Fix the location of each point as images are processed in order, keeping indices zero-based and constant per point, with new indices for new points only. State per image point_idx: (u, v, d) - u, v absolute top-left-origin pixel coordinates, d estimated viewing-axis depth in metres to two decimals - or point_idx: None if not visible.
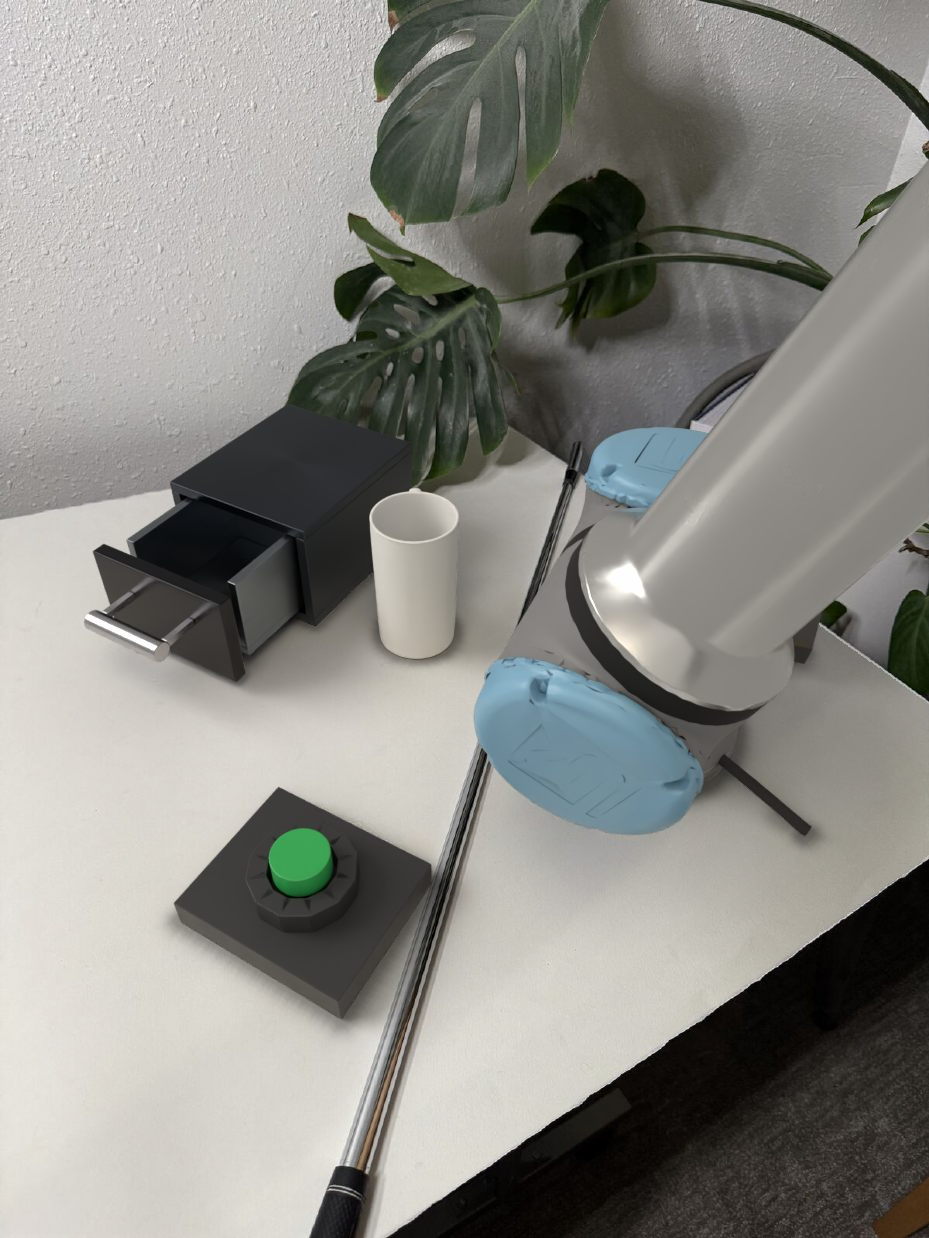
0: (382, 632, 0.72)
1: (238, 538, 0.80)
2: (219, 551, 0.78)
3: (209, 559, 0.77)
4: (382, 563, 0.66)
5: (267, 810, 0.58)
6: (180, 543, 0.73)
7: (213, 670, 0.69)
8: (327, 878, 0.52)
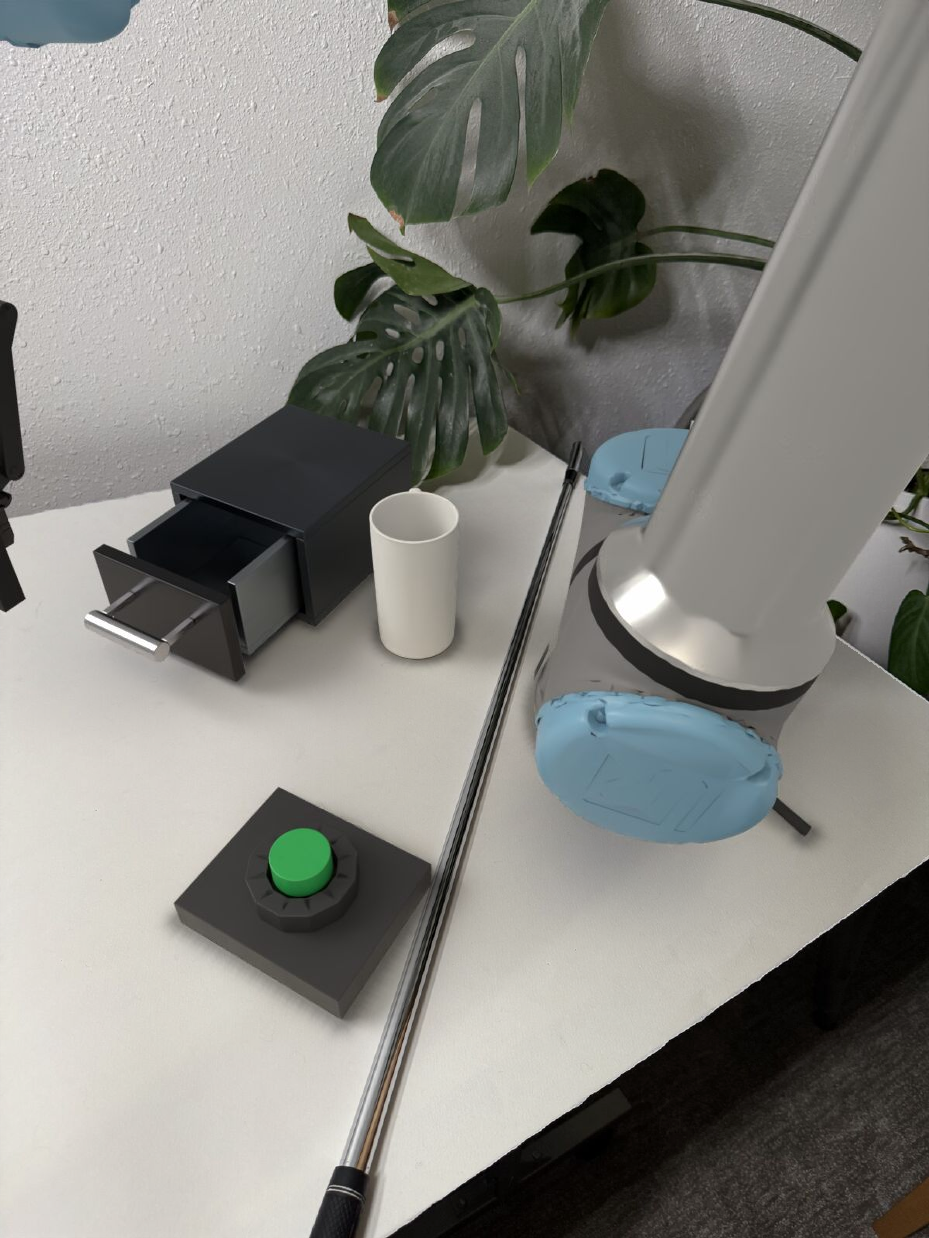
0: (382, 632, 0.72)
1: (238, 538, 0.80)
2: (219, 551, 0.78)
3: (209, 559, 0.77)
4: (382, 563, 0.66)
5: (267, 810, 0.58)
6: (180, 543, 0.73)
7: (213, 670, 0.69)
8: (327, 878, 0.52)
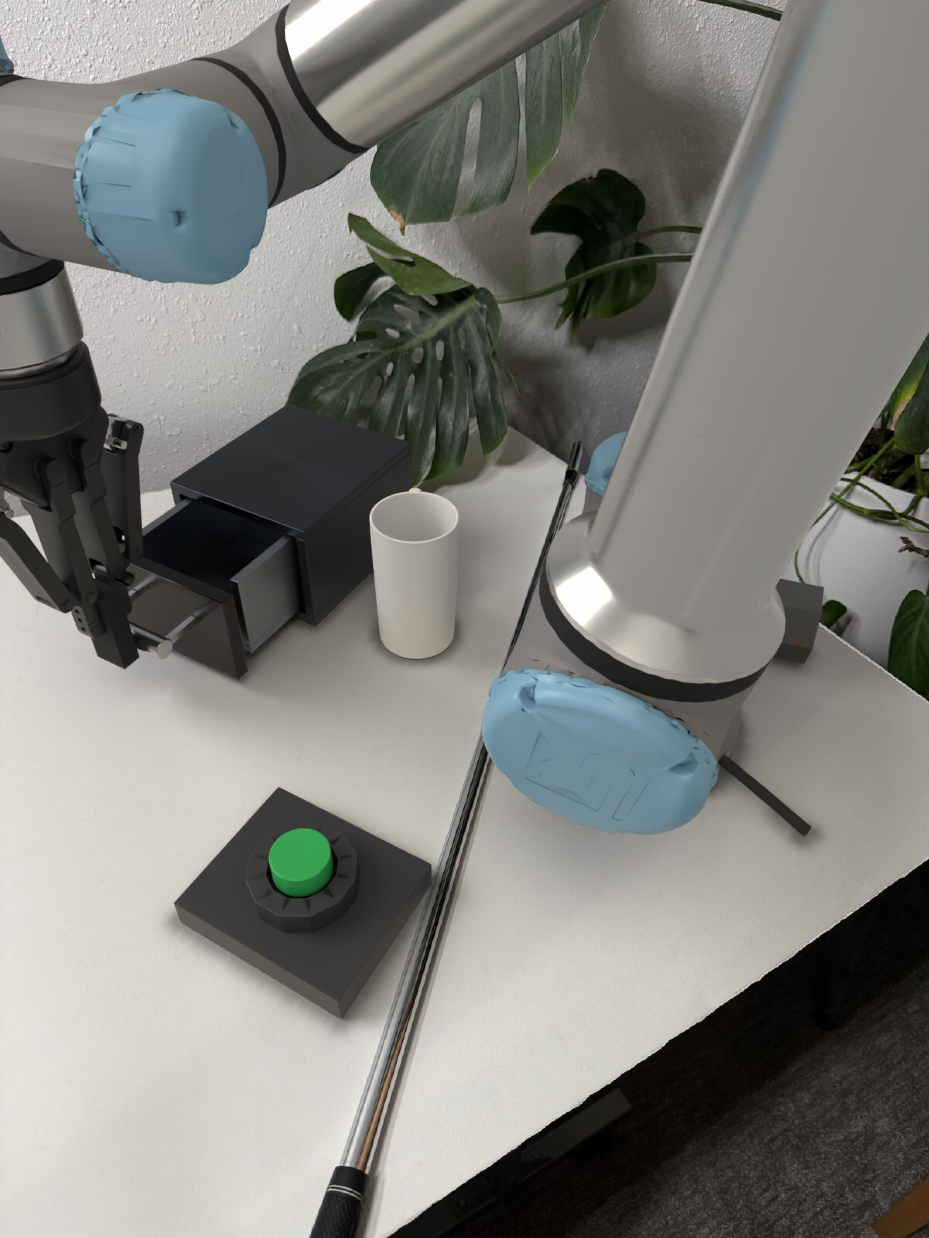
0: (382, 632, 0.72)
1: (240, 536, 0.80)
2: (221, 549, 0.78)
3: (211, 557, 0.78)
4: (382, 563, 0.66)
5: (267, 810, 0.58)
6: (182, 541, 0.73)
7: (216, 668, 0.69)
8: (327, 878, 0.52)
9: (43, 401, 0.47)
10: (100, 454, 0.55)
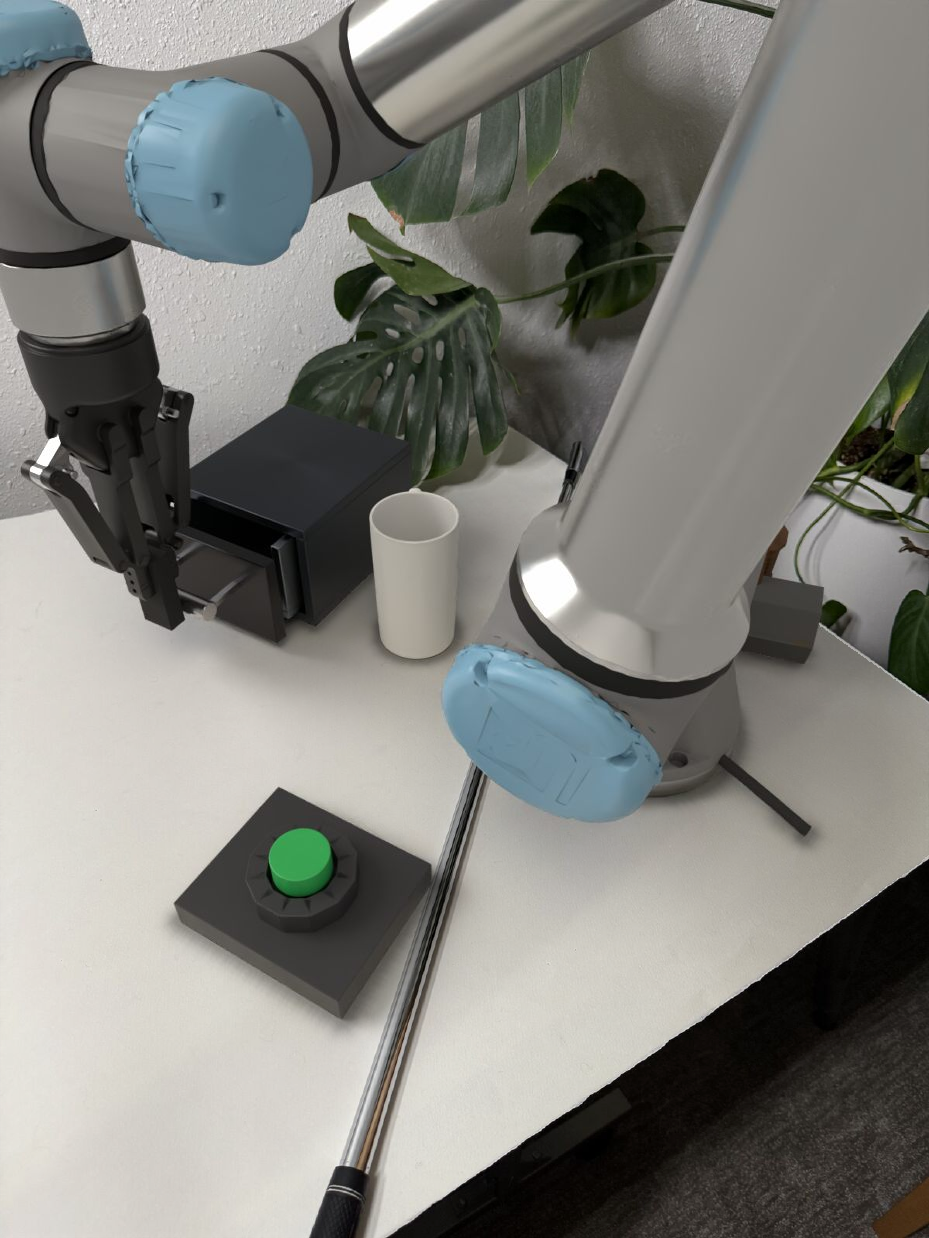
0: (382, 632, 0.72)
1: None
2: (256, 523, 0.82)
3: (247, 530, 0.81)
4: (382, 563, 0.66)
5: (267, 810, 0.58)
6: (221, 513, 0.77)
7: (255, 632, 0.72)
8: (327, 878, 0.52)
9: (110, 367, 0.51)
10: (155, 422, 0.58)
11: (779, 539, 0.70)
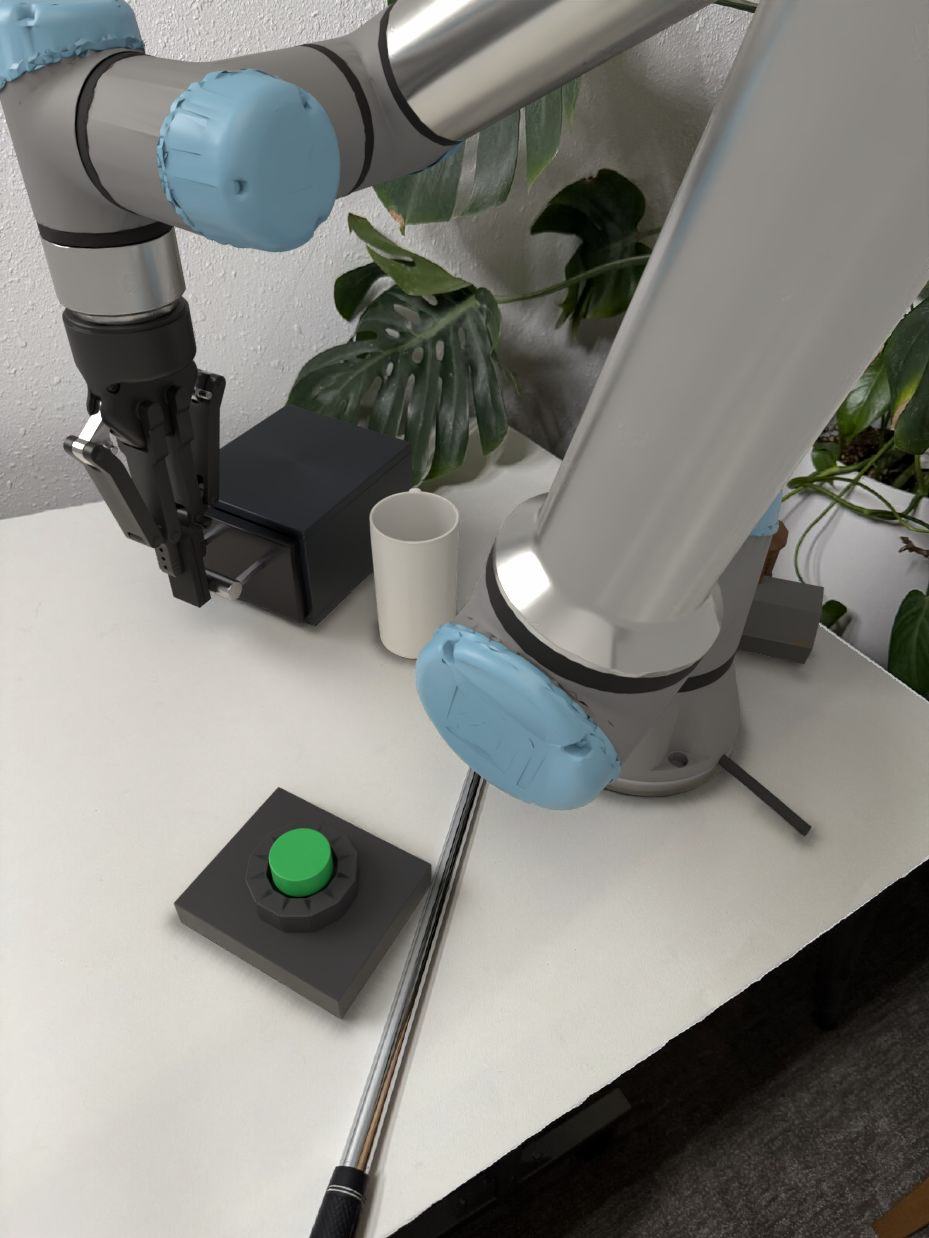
0: (382, 632, 0.72)
1: None
2: None
3: None
4: (382, 563, 0.66)
5: (267, 810, 0.58)
6: None
7: (278, 612, 0.74)
8: (327, 878, 0.52)
9: (152, 346, 0.53)
10: None
11: (779, 539, 0.70)
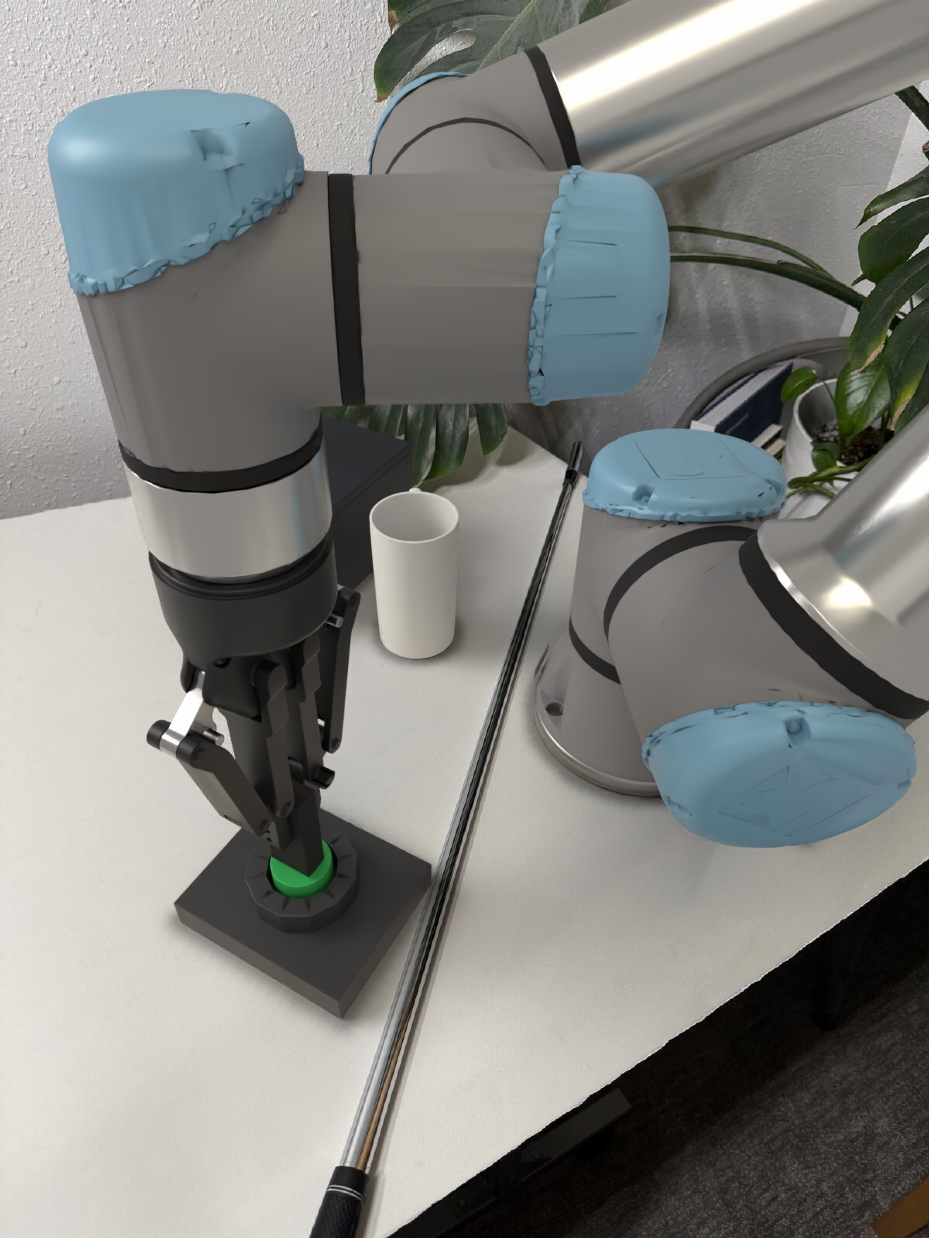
0: (382, 632, 0.72)
1: None
2: None
3: None
4: (382, 563, 0.66)
5: None
6: None
7: None
8: (328, 884, 0.52)
9: (286, 608, 0.35)
10: None
11: None
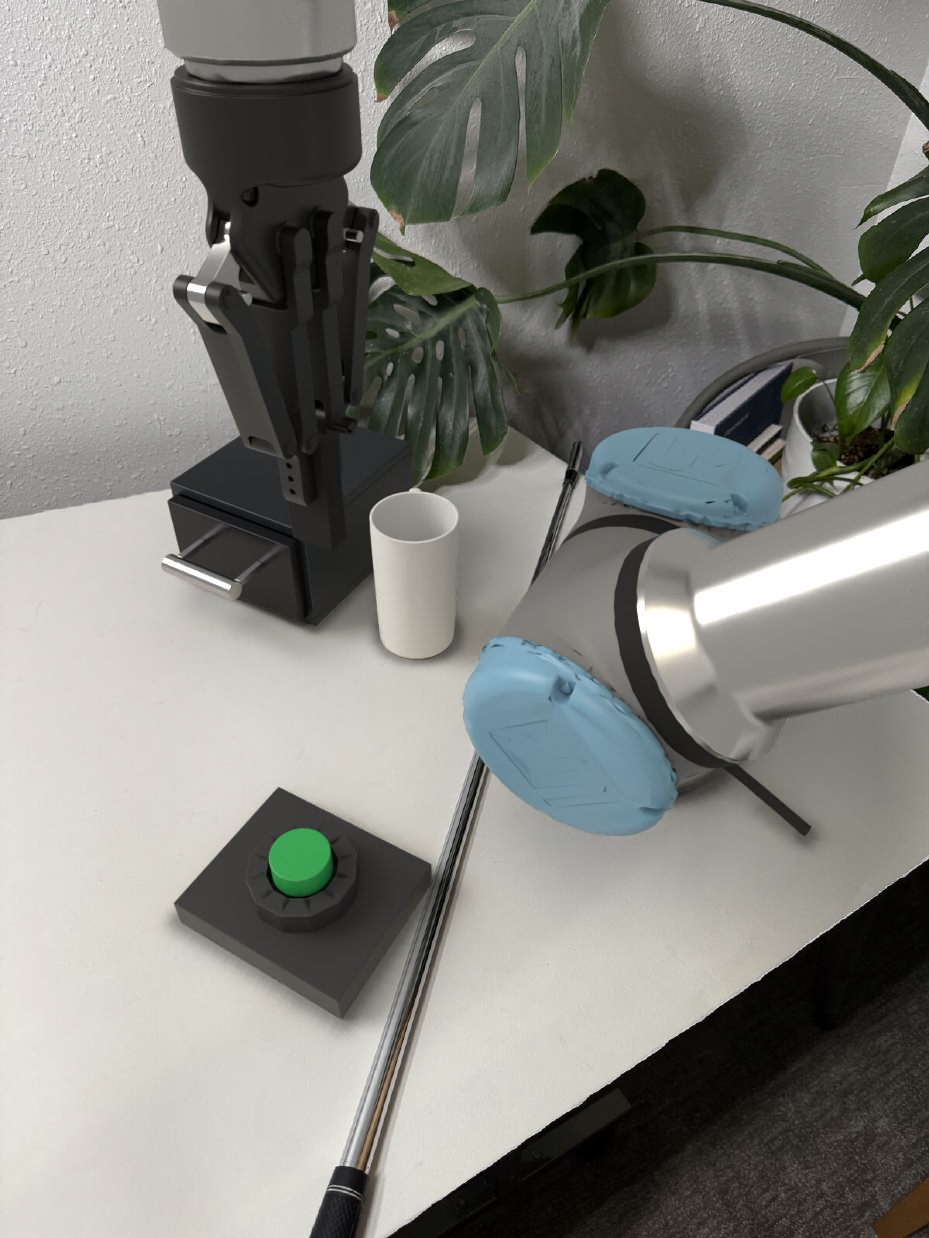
0: (382, 632, 0.72)
1: None
2: None
3: None
4: (382, 563, 0.66)
5: (267, 810, 0.58)
6: None
7: (278, 612, 0.74)
8: (327, 878, 0.52)
9: (314, 121, 0.34)
10: None
11: None
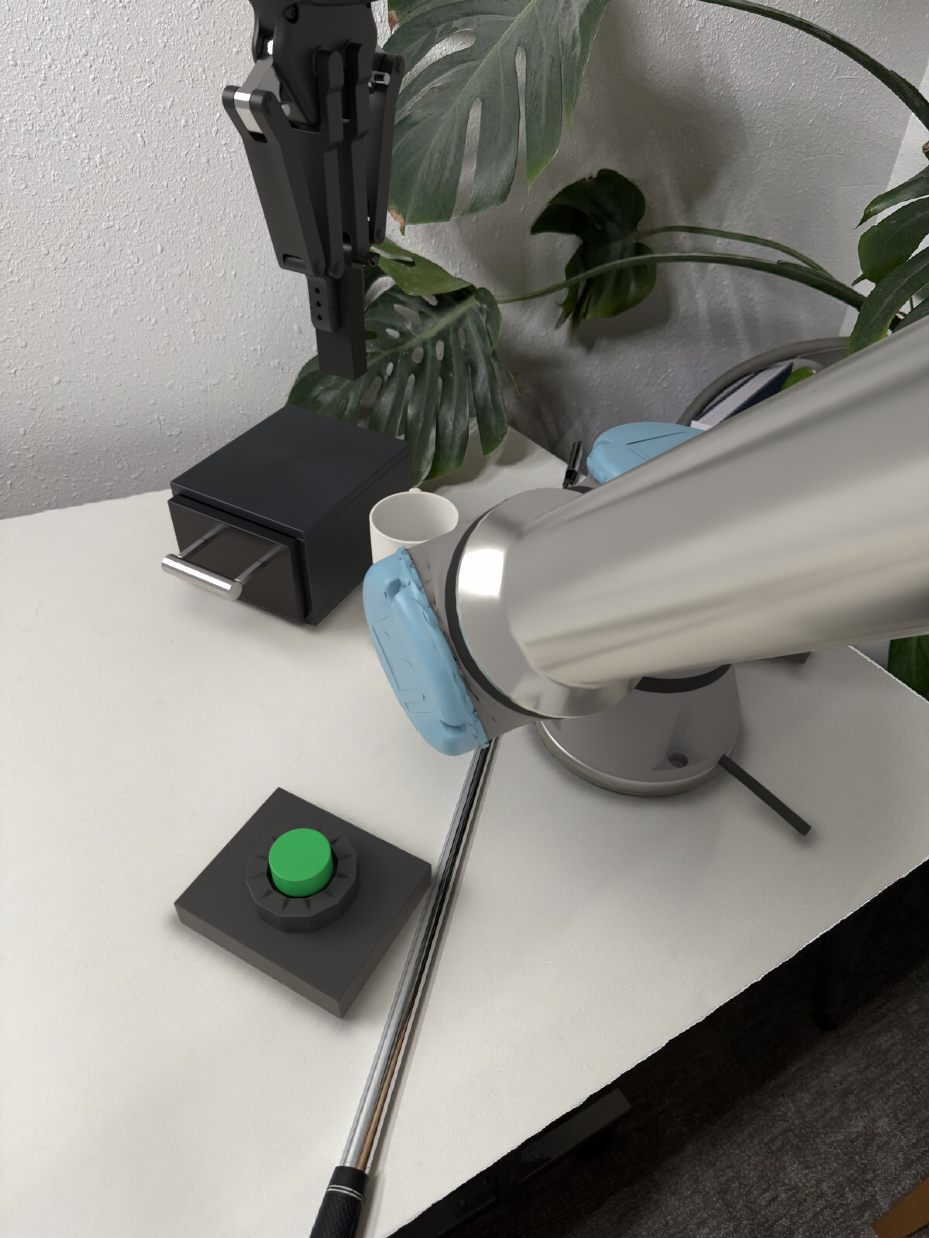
0: None
1: None
2: None
3: None
4: None
5: (267, 810, 0.58)
6: None
7: (278, 612, 0.74)
8: (327, 878, 0.52)
9: None
10: None
11: None
